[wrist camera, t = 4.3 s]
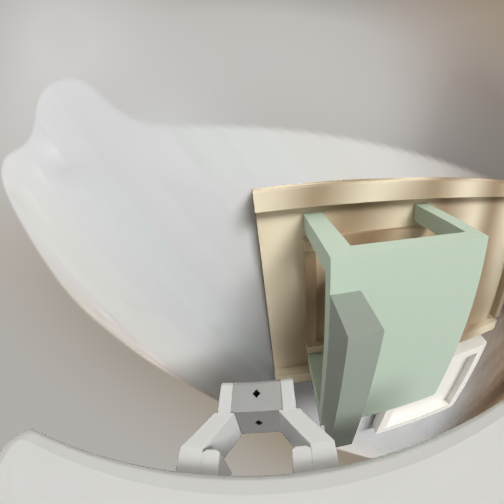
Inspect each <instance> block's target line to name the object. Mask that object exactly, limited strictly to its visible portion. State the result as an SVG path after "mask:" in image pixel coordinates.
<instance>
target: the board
mask: <svg viewBox="0 0 504 504" xmlns="http://www.w3.org/2000/svg"><path fill="white" fill-rule="evenodd" d="M253 201H254V208H255V213H256V220H257V228H258V236H259V244H260V252H261V260H262V268H263V276H264V285H265V293H266V301H267V309H268V318H269V326H270V335H271V343H272V352H273V360H274V369H275V380H278V379H280V380H281V379H289V378H292V379H293V383H299V382H306V381H312V379H311V374H310V369H309V364H308V353H315V352H321V351H322V353H324V331H325V271H324V269H323V267H322V265H321V263H320V261H319V259H318V257H317V255H316V253H315V251H314V249H313V247H312V245H311V243H310V241H309V239H308V237H307V236H306V234H305V232H304V220H303V213H313V212H322V213H323V214H324V215H325V217H326V218H327V219H328V220H329V221H330V222H331V223H332V224H333V226H334V227H335V228H336V229H337V230H338V231H339V233H340V234H341V235H342V236H343V237H344V238H345V240H346V241H347V242H348V243H349V244H350V246H352V245H361V244H369V243H378V242H386V241H394V240H403V239H411V238H419V237H427V236H436V234H435V233H433V232H432V231H430V230H429V229H427V228H426V227H424V226H422V225H421V224H419V223H417V222H416V221H414V212H415V204H429V205H431V206H433V207H435V208H437V209H439V210H441V211H443V212H445V213H447V214H449V215H451V216H453V217H455V218H457V219H459V220H461V221H463V222H465V223H466V224H468V225H470V226H472V227H474V228H475V229H477V230H479V231H481V232H482V233H484V234H486V235H488V236H489V238H488V243H487V249H486V254H485V259H484V264H483V268H482V272H481V276H480V280H479V284H478V288H477V291H476V295H475V298H474V302H473V305H472V308H471V311H470V314H469V317H468V320H467V323H466V326H465V328H464V331H463V334H462V336H461V339H460V341H459V343H460V342H463V341H465V340H468V339H470V338H473V337H475V336H478V335H480V334H482V333H485V332H487V331H489V330H491V329H494V326H495V324H496V322H497V320H496V319H495V318H496V317H498V316H499V314H500V311H501V308H502V305H503V303H504V180H494V179H474V178H380V179H358V180H341V181H326V182H313V183H302V184H291V185H281V186H272V187H263V188H254V189H253ZM280 383H281V382H280Z"/></svg>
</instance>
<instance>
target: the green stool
mask: <svg viewBox="0 0 504 504" xmlns="http://www.w3.org/2000/svg"><path fill="white" fill-rule="evenodd" d="M303 220H304V232H305V234H306V236H307V237H308V239H309V241H310V243H311V245H312V247H313V249H314V251H315V253H316V255H317V257H318V259H319V261H320V263H321V265H322V267H323V269H324V271H325V331H324V353H322V351H321V352H315V353H308V364H309V369H310V374H311V379H312V384H313V389H314V394H315V399H316V405H317V410H318V415H319V421H320V426H321V425H324V427H325V432H326V433H327V434H328V435H329V436H330V437H331V438H332V439H334V441H335V446H336V447H339V446H344V445H349V444H352V441H353V439H354V436H355V433H356V431H357V428H358V425H359V422H360V419H361V417H365V416H369V415H373V414H376V413H380V412H384V411H387V410H391V409H394V408H397V407H400V406H404V405H407V404H410V403H413V402H415V401H418V400H421V399H424V398H427V397H429V396H432V395H434V394H435V393H436V391H437V389H438V387H439V385H440V383H441V381H442V379H443V377H444V375H445V373H446V371H447V369H448V367H449V365H450V362H451V360H452V358H453V356H454V353H455V351H456V349H457V346H458V344H459V341H460V339H461V336H462V334H463V331H464V328H465V326H466V323H467V320H468V317H469V314H470V311H471V308H472V305H473V302H474V298H475V295H476V291H477V288H478V284H479V280H480V276H481V272H482V268H483V264H484V259H485V254H486V249H487V243H488V238H489V236H488V235H486V234H484V233H482V232H481V231H479V230H477V229H475V228H474V227H472V226H470V225H468V224H466V223H465V222H463V221H461V220H459V219H457V218H455V217H453V216H451V215H449V214H447V213H445V212H443V211H441V210H439V209H437V208H435V207H433V206H431V205H429V204H415V212H414V221H416V222H417V223H419V224H421V225H422V226H424V227H426V228H427V229H429V230H430V231H432V232H433V233H435V234H436V236H427V237H419V238H411V239H403V240H394V241H386V242H378V243H369V244H361V245H352V246H350V244H349V243H348V242H347V241H346V240H345V238H344V237H343V236H342V235H341V234H340V233H339V231H338V230H337V229H336V228H335V227H334V226H333V224H332V223H331V222H330V221H329V220H328V219H327V218H326V217H325V215H324V214H323V213H322V212H313V213H303Z"/></svg>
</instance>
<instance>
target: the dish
mask: <svg viewBox="0 0 504 504" xmlns="http://www.w3.org/2000/svg"><path fill="white" fill-rule="evenodd" d="M486 343H487V342H486V341H485V340H484V338H483V337H482V336H481V335H478V336H475V337H473V338H470V339H468V340H465V341H463V342H460V343H459V344H458V346H457V349H456V351H455V353H454V356H453V358H452V360H451V362H450V365H449V367H448V369H447V371H446V373H445V375H444V377H443V379H442V381H441V383H440V385H439V387H438V389H437V391H436V393H435V394H434V395H432V396H429V397H427V398H424V399H421V400H418V401H415V402H413V403H410V404H407V405H404V406H400V407H397V408H394V409H391V410H387V411H384V412H380V413H376V416H375V418H374V421H373V423H372V424H373V427H374V430H375V433H376V434H377V433H381V432H384V431H387V430H391V429H394V428H397V427H400V426H403V425H406V424H409V423H412V422H414V421H417V420H420V419H422V418H425V417H428V416H430V415H432V414H435V413H437V412H440V411H442V410H444V409H446V408H449V407H451V406H452V405H453V404H454V402H455V400H456V399H457V397H458V396H459V394H460V392H461V391H462V389H463V387H464V386H465V384H466V382H467V381H468V379H469V377H470V375H471V373H472V371H473V370H474V368H475V366H476V364H477V362H478V360H479V358H480V356H481V354H482V352H483V350H484V348H485V345H486Z"/></svg>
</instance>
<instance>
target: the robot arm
mask: <svg viewBox="0 0 504 504" xmlns="http://www.w3.org/2000/svg"><path fill="white" fill-rule="evenodd" d="M280 382H281V383H280ZM280 431H281V433H282V434H283V435H284V436H285V438H286V439H287V440H288V441H289V443H290V444H291V445H292V446H293V447H294V449H293V450H292V451H293V452H292V453H293V473H292V474H282V475H266V476H231V471H230V469H229V467H228V466H227V464H226V462H225V461H224V458H225V457H226V455H227V454H228V453H229V451H230V450H231V449H232V447H233V446H234V445H235V443H236V442H237V440H238V439H239V438H240V436H241V435H242V434H245V433H260V432H280ZM0 504H504V400H503V401H501V402H499V403H497V404H496V405H494V406H493V407H491V408H489V409H488V410H486V411H484V412H483V413H481V414H479V415H478V416H476V417H474V418H472V419H470V420H468V421H467V422H465V423H463V424H461V425H459V426H457V427H455V428H453V429H451V430H449V431H446V432H444V433H442V434H440V435H438V436H435V437H433V438H431V439H428V440H426V441H423V442H421V443H418V444H416V445H413V446H410V447H408V448H405V449H402V450H399V451H396V452H393V453H390V454H387V455H383V456H380V457H376V458H373V459H369V460H365V461H362V462H357V463H353V464H349V465H344V466H339V462H338V456H337V451H336V446H335V441H334V439H332V438H331V437H330V436H329V435H328V434H327V433H326V432H325V431H324V430H323V429H321V428H320V427H319V426H318V425H317V424H316V423H315V422H314V421H313V420H312V419H311V418H310V417H309V416H308V415H307V414H306V413H304V412H303V411H302V410H301V409H300V408H296V400H295V392H294V384H293V379H292V378H289V379H281V380H280V379H278V380H268V381H257V382H240V383H222V384H221V388H220V396H219V404H218V411H217V413H214V414H213V415H212V416H211V417H210V418H209V419H208V420H207V421H206V422H205V423H204V424H203V425H202V426H201V427H200V428H199V429H198V430H197V431H196V432H195V433H194V434H193V435H192V436H191V437H190V438H189V439H188V440H187V441H186V442H185V443H184V444H183V445H182V446H181V448H180V453H179V458H178V463H177V468H176V472H174V471H167V470H160V469H155V468H149V467H144V466H139V465H134V464H130V463H125V462H122V461H118V460H114V459H110V458H106V457H103V456H100V455H97V454H94V453H91V452H87V451H85V450H82V449H79V448H76V447H73V446H71V445H68V444H65V443H63V442H60V441H58V440H56V439H53V438H51V437H48V436H46V435H44V434H42V433H40V432H38V431H36V430H33V429H29V430H26V431H24V432H22V433H20V434H18V435H17V436H15V437H13V438H11V439H10V440H9V441H8V442H7V443H6V445H5V446H4V448H3V450H2V451H1V453H0Z"/></svg>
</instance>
